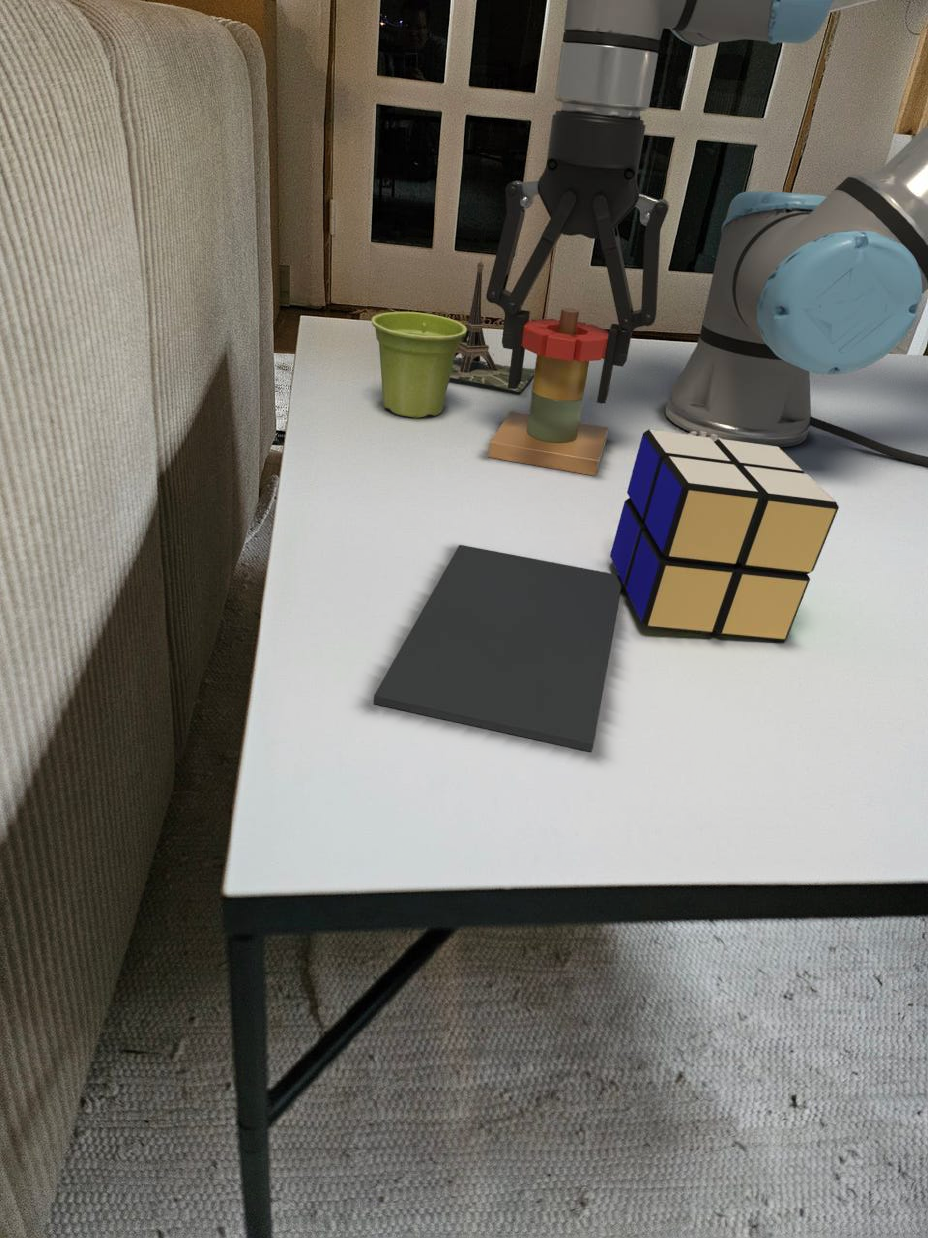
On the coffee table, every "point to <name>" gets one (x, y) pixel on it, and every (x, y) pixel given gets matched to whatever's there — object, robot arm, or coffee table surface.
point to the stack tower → (553, 417)
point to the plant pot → (416, 360)
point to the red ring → (565, 341)
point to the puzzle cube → (719, 536)
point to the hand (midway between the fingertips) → (558, 391)
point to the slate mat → (510, 648)
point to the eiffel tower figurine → (481, 351)
